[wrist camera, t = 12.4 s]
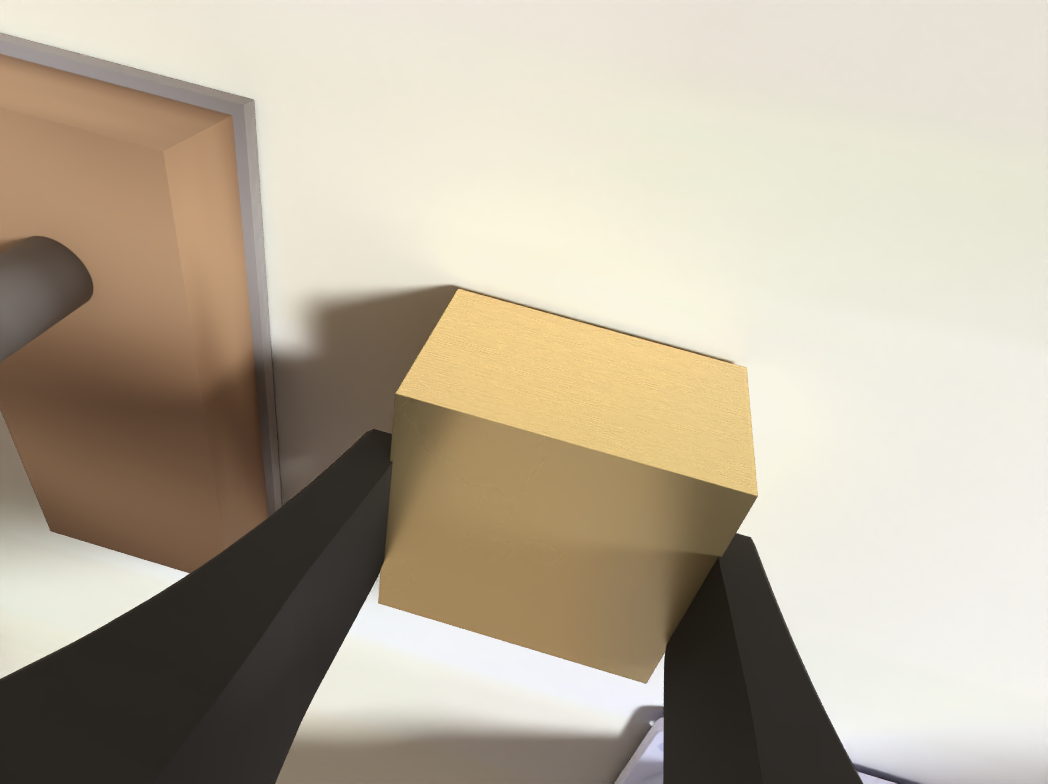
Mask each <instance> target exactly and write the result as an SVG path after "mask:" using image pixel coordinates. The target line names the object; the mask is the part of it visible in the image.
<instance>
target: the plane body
mask: <svg viewBox="0 0 1048 784" xmlns="http://www.w3.org/2000/svg"><path fill="white" fill-rule="evenodd" d="M0 409H1V412H2V414H3V417H4V419H5V421H6V424H7V426H8V429H9V431H10V434H11V436H12V438H13V441H14V443H15V446H16V448H17V451H18V453H19V455H20V458H21V460H22V463H23V465H24V468H25V470H26V472H27V475H28V477H29V480H30V482H31V485H32V487H33V489H34V492H35V494H36V497H37V499H38V501H39V504H40V506H41V509H42V511H43V514H44V516H45V518H46V521H47V523H48V526H49V528H50V531H52V532H55V533H58V534H62V535H65V536H68V537H72V538H75V539H78V540H81V541H85V542H88V543H91V544H95V545H98V546H101V547H105V548H108V549H111V550H115V551H118V552H121V553H124V554H128V555H131V556H134V557H138V558H141V559H144V560H148V561H151V562H154V563H158V564H161V565H164V566H167V567H171V568H174V569H177V570H181V571H184V572H187V573H192V572H193V571H195V570H196V569H198V568H199V567H201V566H202V565H203V564H205V563H206V562H208V561H209V560H211V559H212V558H214V557H215V556H217V555H218V554H220V553H221V552H222V551H224V550H225V549H226V548H228V547H229V546H231V545H232V544H233V543H235V542H236V541H237V540H239V539H240V538H241V537H243V536H244V535H245V534H247V533H248V532H250V531H251V530H252V529H254V528H255V527H256V526H258V525H259V524H260V523H262V522H263V521H264V520H266V519H267V518H268V517H270V516H271V515H272V514H273V513H275V512H276V511H277V510H278V509H280V508H281V507H282V500H281V485H280V470H279V456H278V441H277V427H276V412H275V398H274V383H273V368H272V354H271V339H270V325H269V310H268V296H267V281H266V266H265V252H264V237H263V223H262V208H261V194H260V179H259V164H258V150H257V135H256V121H255V106H254V100H253V99H249V98H245V97H241V96H238V95H234V94H230V93H226V92H222V91H219V90H215V89H211V88H207V87H203V86H200V85H196V84H192V83H188V82H184V81H181V80H177V79H173V78H169V77H165V76H162V75H158V74H154V73H150V72H147V71H143V70H139V69H135V68H131V67H128V66H124V65H120V64H116V63H112V62H109V61H105V60H101V59H97V58H93V57H90V56H86V55H82V54H78V53H74V52H71V51H67V50H63V49H59V48H55V47H52V46H48V45H44V44H40V43H37V42H33V41H29V40H25V39H21V38H18V37H14V36H10V35H6V34H2V33H0Z"/></svg>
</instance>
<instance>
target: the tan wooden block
mask: <svg viewBox="0 0 1048 784" xmlns="http://www.w3.org/2000/svg"><path fill="white" fill-rule="evenodd" d="M390 461H392V462H393V465H392V477H391V488H390V500H389V511H388V522H387V534H386V545H385V557H384V563H383V566H382V568H381V575H380V587H379V599H378V603H379V604H382V605H386V606H389V607H392V608H396V609H399V610H402V611H406V612H409V613H412V614H416V615H419V616H422V617H426V618H429V619H432V620H436V621H439V622H442V623H446V624H449V625H452V626H456V627H459V628H462V629H466V630H469V631H472V632H476V633H479V634H482V635H486V636H489V637H492V638H496V639H499V640H502V641H506V642H509V643H512V644H516V645H519V646H522V647H526V648H529V649H532V650H536V651H539V652H542V653H546V654H549V655H552V656H556V657H559V658H562V659H566V660H569V661H572V662H576V663H579V664H582V665H586V666H589V667H592V668H596V669H599V670H602V671H605V672H609V673H612V674H615V675H619V676H622V677H625V678H629V679H632V680H635V681H639V682H642V683H645V684H646V683H647V682H648V680H649V678H650V677H651V675H652V673H653V672H654V670H655V668H656V667H657V665H658V663H659V662H660V660H661V658H662V657H663V655H664V653H665V650H666V645H667V643H668V641H669V640H670V638H671V636H672V635H673V633H674V631H675V630H676V628H677V626H678V624H679V623H680V621H681V619H682V618H683V616H684V614H685V613H686V611H687V609H688V607H689V606H690V604H691V602H692V601H693V599H694V597H695V596H696V594H697V592H698V590H699V589H700V587H701V585H702V584H703V582H704V580H705V579H706V577H707V575H708V573H709V572H710V570H711V568H712V567H713V565H714V563H715V562H716V560H717V558H718V557H719V556H720V557H722V556H723V554H724V552H725V551H726V549H727V547H728V546H729V544H730V542H731V540H732V539H733V537H734V535H735V534H736V532H737V530H738V529H739V527H740V525H741V524H742V522H743V520H744V519H745V517H746V515H747V514H748V512H749V510H750V508H751V507H752V505H753V503H754V502H755V500H756V498H757V497H758V492H757V481H756V469H755V458H754V446H753V435H752V423H751V412H750V400H749V389H748V377H747V368H746V367H742V366H738V365H735V364H731V363H728V362H724V361H720V360H717V359H713V358H709V357H706V356H702V355H698V354H695V353H691V352H687V351H684V350H680V349H676V348H673V347H669V346H666V345H662V344H658V343H655V342H651V341H647V340H644V339H640V338H636V337H633V336H629V335H625V334H622V333H618V332H614V331H611V330H607V329H604V328H600V327H596V326H593V325H589V324H585V323H582V322H578V321H574V320H571V319H567V318H563V317H560V316H556V315H552V314H549V313H545V312H542V311H538V310H534V309H531V308H527V307H523V306H520V305H516V304H512V303H509V302H505V301H501V300H498V299H494V298H491V297H487V296H483V295H480V294H476V293H472V292H469V291H465V290H461V289H458V290H457V292H456V293H455V295H454V297H453V298H452V300H451V302H450V303H449V305H448V307H447V308H446V310H445V312H444V313H443V315H442V317H441V318H440V320H439V322H438V323H437V325H436V327H435V328H434V330H433V332H432V333H431V335H430V337H429V338H428V340H427V342H426V343H425V345H424V347H423V348H422V350H421V352H420V353H419V355H418V357H417V359H416V360H415V362H414V364H413V365H412V367H411V369H410V370H409V372H408V374H407V375H406V377H405V379H404V380H403V382H402V384H401V385H400V387H399V389H398V390H397V392H396V395H395V407H394V419H393V431H392V443H391V455H390Z"/></svg>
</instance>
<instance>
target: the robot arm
mask: <svg viewBox="0 0 1048 784" xmlns="http://www.w3.org/2000/svg"><path fill="white" fill-rule="evenodd" d="M391 443H392V434H389V433H385V432H382V431H378V430H375V429H373V430H370V431H368V432H366V433H365V434H364V435H363V436H362V437H361V438H360V439H359V440H358V441H357V442H356V443H355V444H354V445H353V446H352V447H351V448H350V449H348V450H347V451H346V452H345V453H344V454H343V455H342V456H341V457H340V458H339V459H338V460H336V461H335V462H334V463H333V464H332V465H331V466H330V467H329V468H328V469H326V470H325V471H324V472H323V473H322V474H321V475H319V476H318V477H317V478H316V479H315V480H314V481H313V482H311V483H310V484H309V485H308V486H307V487H305V488H304V489H303V490H302V491H300V492H299V493H298V494H297V495H296V496H294V497H293V498H292V499H291V500H289V501H288V502H287V503H286V504H285V505H283V506H282V507H281V508H280V509H278V510H277V511H276V512H275V513H273V514H272V515H271V516H270V517H268V518H267V519H266V520H264V521H263V522H262V523H260V524H259V525H258V526H256V527H255V528H254V529H252V530H251V531H250V532H248V533H247V534H245V535H244V536H243V537H241V538H240V539H239V540H237V541H236V542H235V543H233V544H232V545H231V546H229V547H228V548H226V549H225V550H224V551H222V552H221V553H220V554H218V555H217V556H215V557H214V558H212V559H211V560H209V561H208V562H206V563H205V564H203V565H202V566H201V567H199V568H198V569H196V570H195V571H193V572H192V573H190V574H188V575H187V576H185V577H184V578H182V579H181V580H179V581H178V582H176V583H174V584H173V585H171V586H170V587H168V588H167V589H165V590H163V591H162V592H160V593H159V594H157V595H155V596H154V597H152V598H150V599H149V600H147V601H145V602H144V603H142V604H140V605H138V606H137V607H135V608H133V609H132V610H130V611H128V612H126V613H125V614H123V615H121V616H120V617H118V618H116V619H114V620H113V621H111V622H109V623H108V624H106V625H104V626H102V627H101V628H99V629H97V630H95V631H93V632H91V633H90V634H88V635H86V636H84V637H82V638H80V639H79V640H77V641H75V642H73V643H71V644H69V645H67V646H65V647H63V648H61V649H59V650H57V651H55V652H53V653H51V654H49V655H47V656H45V657H43V658H41V659H39V660H37V661H35V662H33V663H31V664H29V665H27V666H25V667H23V668H21V669H19V670H17V671H15V672H13V673H11V674H9V675H7V676H5V677H3V678H1V679H0V784H275V782H276V780H277V777H278V775H279V773H280V770H281V768H282V766H283V763H284V761H285V759H286V756H287V754H288V752H289V749H290V747H291V745H292V742H293V740H294V738H295V735H296V733H297V731H298V728H299V726H300V724H301V721H302V719H303V717H304V715H305V713H306V711H307V709H308V707H309V705H310V703H311V701H312V699H313V697H314V695H315V693H316V691H317V689H318V687H319V686H320V684H321V682H322V680H323V678H324V676H325V674H326V673H327V671H328V669H329V667H330V665H331V663H332V661H333V660H334V658H335V656H336V654H337V652H338V650H339V648H340V647H341V645H342V643H343V641H344V639H345V637H346V635H347V634H348V632H349V630H350V628H351V626H352V624H353V622H354V621H355V619H356V617H357V615H358V613H359V611H360V609H361V607H362V606H363V604H364V602H365V600H366V598H367V596H368V594H369V592H370V591H371V589H372V587H373V585H374V583H375V581H376V579H377V577H378V575H379V573H380V570H381V568H382V566H383V563H384V557H385V545H386V534H387V522H388V511H389V500H390V488H391V477H392V465H393V462H392V461H390V455H391ZM614 784H897V783H894V782H890V781H887V780H884V779H880V778H877V777H874V776H870V775H867V774H864V773H861V772H857V771H856V769H855V767H854V765H853V764H852V762H851V760H850V758H849V756H848V754H847V752H846V750H845V749H844V747H843V745H842V743H841V741H840V739H839V737H838V735H837V733H836V731H835V729H834V727H833V725H832V723H831V721H830V719H829V717H828V715H827V713H826V711H825V709H824V707H823V705H822V703H821V701H820V699H819V697H818V695H817V692H816V690H815V688H814V686H813V684H812V682H811V680H810V677H809V675H808V673H807V671H806V669H805V666H804V664H803V662H802V660H801V657H800V655H799V653H798V651H797V649H796V646H795V644H794V642H793V639H792V637H791V635H790V632H789V630H788V628H787V625H786V623H785V621H784V618H783V616H782V613H781V611H780V608H779V606H778V603H777V601H776V598H775V596H774V593H773V591H772V588H771V586H770V583H769V581H768V578H767V575H766V573H765V570H764V568H763V565H762V562H761V560H760V557H759V554H758V552H757V549H756V547H755V544H754V542H753V540H752V539H751V537H748V536H744V535H741V534H737V533H736V534H735V535H734V537H733V539H732V540H731V542H730V544H729V546H728V547H727V549H726V551H725V552H724V554H723V556H722V557H720V556H719V557H718V558H717V560H716V562H715V563H714V565H713V567H712V568H711V570H710V572H709V573H708V575H707V577H706V579H705V580H704V582H703V584H702V585H701V587H700V589H699V590H698V592H697V594H696V596H695V597H694V599H693V601H692V602H691V604H690V606H689V607H688V609H687V611H686V613H685V614H684V616H683V618H682V619H681V621H680V623H679V624H678V626H677V628H676V630H675V631H674V633H673V635H672V636H671V638H670V640H669V641H668V643H667V645H666V650H665V659H664V717H662V718H659V719H658V720H657V721H655V723H654V724H653V726H652V727H651V729H650V730H649V732H648V733H647V735H646V736H645V738H644V739H643V741H642V742H641V744H640V745H639V747H638V748H637V750H636V751H635V753H634V754H633V756H632V757H631V759H630V760H629V762H628V763H627V765H626V766H625V768H624V769H623V771H622V772H621V774H620V775H619V777H618V778H617V780H616V781H615V783H614Z"/></svg>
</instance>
